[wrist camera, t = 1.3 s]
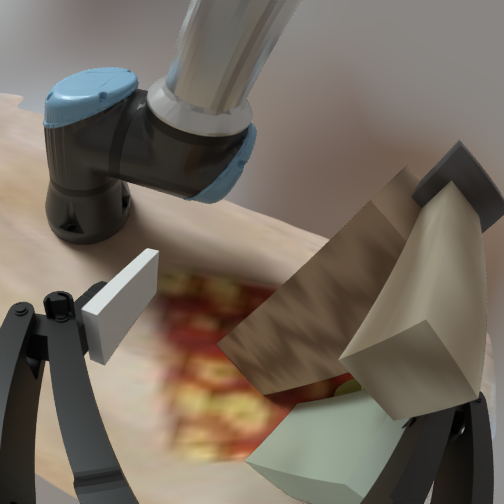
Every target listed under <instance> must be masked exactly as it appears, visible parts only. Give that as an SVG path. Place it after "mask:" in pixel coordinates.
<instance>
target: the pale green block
mask: <svg viewBox="0 0 504 504" xmlns="http://www.w3.org/2000/svg"><path fill="white" fill-rule="evenodd" d="M409 419H410V418H406V419H401V420H395V421H393V420H392V418H391V417H390V416H389V415H388V414H387V413H386V412H385V411H384V410H383V409H382V408H381V406H380V405H379V404H378V403H377V402H376V401H375V400H374V399H373V398H372V397H371V395H370V394H369V393H368V392H367V391H366V390H361V391H357V392H353V393H349V394H345V395H340V396H336V397H331V398H326V399H321V400H316V401H310V402H304V403H298V404H297V405H296V406H295V407H294V408H293V409H292V410H291V412H290V413H289V414H288V415H287V416H286V417H285V419H284V420H283V421H282V422H281V423H280V424H279V425H278V426H277V428H276V429H275V430H274V431H273V432H272V433H271V434H270V435H269V436H268V437H267V438H266V439H265V440H264V442H263V443H262V444H261V445H260V446H259V447H258V448H257V449H256V450H255V451H254V452H253V453H252V454H251V455H250V456H249V457H248V458H247V459H246V460H245V462H247V463H248V464H249V465H250V466H251V467H253V468H254V469H255V470H256V471H257V472H259V473H260V474H261V475H262V476H264V477H265V478H266V479H268V480H269V481H270V482H271V483H273V484H274V485H275V486H277V487H278V488H279V489H281V490H282V491H283V492H285V493H286V494H288V495H289V496H290V497H293V498H296V499H299V500H302V501H305V502H308V503H311V504H360V503H361V502H362V500H363V499H364V497H365V496H366V495H367V493H368V492H369V490H370V489H371V487H372V486H373V484H374V483H375V481H376V480H377V478H378V476H379V475H380V473H381V472H382V470H383V468H384V467H385V465H386V463H387V462H388V460H389V458H390V456H391V455H392V453H393V451H394V449H395V447H396V445H397V444H398V442H399V440H400V438H401V436H402V434H403V432H404V430H405V428H406V427H404V428H403V429H402V427H403V425H404V424H405V423H406V422H407V421H408V420H409Z"/></svg>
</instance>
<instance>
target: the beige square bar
mask: <svg viewBox="0 0 504 504" xmlns="http://www.w3.org/2000/svg"><path fill="white" fill-rule="evenodd" d="M411 197H412V198H413V199H414V200H415V201H416V202H417V204H418V205H419V206H420V207H421V208H422V209H421V211H420V214H419V216H418V218H417V221H416V223H415V225H414V227H413V230H412V232H411V234H410V236H409V238H408V240H407V242H406V245H405V247H404V249H403V251H402V253H401V255H400V257H399V259H398V261H397V263H396V265H395V267H394V269H393V270H392V272H391V274H390V276H389V278H388V280H387V282H386V284H385V285H384V287H383V289H382V291H381V293H380V294H379V296H378V298H377V300H376V301H375V303H374V305H373V306H372V308H371V310H370V311H369V313H368V315H367V316H366V318H365V320H364V321H363V323H362V325H361V326H360V328H359V329H358V331H357V332H356V334H355V336H354V337H353V339H352V340H351V342H350V343H349V345H348V346H347V348H346V349H345V351H344V352H343V354H342V355H341V356H340V358H339V359H338V360H339V361H340V362H341V364H342V365H343V366H344V367H345V368H346V369H347V370H348V371H349V372H350V374H351V375H352V376H353V377H354V378H355V379H356V380H357V381H358V382H359V383H360V385H361V386H362V387H363V388H364V389H365V390H366V391H367V392H368V393H369V394H370V395H371V397H372V398H373V399H374V400H375V401H376V402H377V403H378V404H379V405H380V406H381V408H382V409H383V410H384V411H385V412H386V413H387V414H388V415H389V416H390V417H391V418H392V420H393V421H395V420H401V419H406V418H411V417H415V416H420V415H424V414H428V413H432V412H436V411H440V410H444V409H447V408H451V407H454V406H457V405H461V404H464V403H467V402H470V401H473V400H476V399H478V397H479V392H480V386H481V380H482V373H483V365H484V356H485V345H486V330H487V282H486V267H485V256H484V246H483V239H482V233H483V232H485V231H486V230H487V229H488V228H489V227H490V226H492V225H493V224H494V223H495V222H496V221H497V220H499V219H500V218H501V217H502V216H503V215H504V198H503V196H502V195H501V193H500V191H499V190H498V188H497V186H496V185H495V184H494V182H493V181H492V180H491V178H490V177H489V175H488V174H487V173H486V171H485V170H484V169H483V168H482V166H481V165H480V164H479V162H478V161H477V160H476V159H475V158H474V156H473V155H472V154H471V153H470V152H469V151H468V149H467V148H466V147H465V146H464V145H463V143H462V142H461V141H460V140H459V141H458V142H457V143H456V144H455V145H454V146H453V147H452V148H451V149H450V150H449V151H448V153H447V154H446V155H445V156H444V157H443V158H442V159H441V160H440V161H439V162H438V163H437V164H436V165H435V166H434V167H433V168H432V169H431V170H430V172H429V173H428V174H427V175H426V176H425V177H424V178H423V179H422V180H421V181H420V182H419V184H418V186H417V188H416V189H415V191H414V193H413V194H412V196H411Z"/></svg>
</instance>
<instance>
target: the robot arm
mask: <svg viewBox="0 0 504 504" xmlns="http://www.w3.org/2000/svg"><path fill="white" fill-rule="evenodd" d="M301 1H302V0H192V1H191V3H190V5H189V8H188V11H187V13H186V16H185V19H184V22H183V25H182V27H181V30H180V33H179V36H178V39H177V42H176V45H175V48H174V52H173V55H172V58H171V62H170V65H169V69H168V72H167V76H165V77H163V78H161V79H159V80H157V81H156V82H155V83H153V85H152V86H151V87H150V88H149V90H148V91H145V90H141V89H137V88H138V84H139V83H138V78H137V76H136V74H135V73H133V72H131V71H130V70H127V69H123V68H115V67H106V68H96V69H90V70H86V71H82V72H79V73H76V74H74V75H71V76H69V77H67V78H65V79H63V80H61V81H60V82H59V83H57V84H56V85H55V86H54V87H53V88H52V89H51V90H50V91H49V93H48V95H47V97H46V100H45V114H44V120H43V125H44V132H45V143H46V152H47V160H48V168H49V174H50V182H49V187H48V192H47V197H46V203H45V208H46V215H47V219H48V222H49V225H50V227H51V229H52V230H53V232H54V233H55V234H56V235H57V236H59V237H60V238H62V239H63V240H65V241H68V242H70V243H75V244H93V243H97V242H100V241H103V240H105V239H107V238H109V237H111V236H112V235H114V234H115V233H116V232H118V231H119V230H120V229H121V227H122V226H123V225H124V223H125V222H126V220H127V218H128V215H129V211H130V202H131V196H130V190H129V187H128V184H127V182H129V183H133V184H136V185H140V186H143V187H146V188H150V189H153V190H156V191H160V192H163V193H166V194H170V195H173V196H176V197H179V198H183V199H184V200H188V201H191V200H194V201H198V202H202V203H207V204H212V203H216V202H218V201H220V200H222V199H223V198H224V197H225V196H226V195H227V194H228V193H229V192H230V191H231V189H232V188H233V187H234V185H235V184H236V182H237V180H238V179H239V177H240V176H241V174H242V172H243V168H244V165H245V164H246V163H247V161H248V160H249V157H250V155H251V153H252V150H253V147H254V144H255V140H256V132H257V131H256V127H255V126H254V124H252V123H251V120H252V117H253V113H252V108H251V106H250V104H249V102H248V100H247V97H248V95H249V93H250V91H251V89H252V87H253V85H254V83H255V81H256V79H257V77H258V76H259V73H260V72H261V70H262V68H263V66H264V64H265V63H266V61H267V59H268V57H269V55H270V53H271V52H272V50H273V48H274V46H275V45H276V43H277V41H278V39H279V38H280V36H281V34H282V32H283V31H284V29H285V27H286V26H287V24H288V22H289V21H290V19H291V17H292V16H293V14H294V13H295V11H296V9H297V8H298V6H299V5H300V3H301ZM158 260H159V251H157V250H153V249H149V248H147V249H145V250H144V251H143V252H142V253H141V254H140V255H139V256H137V257H136V258H135V259H134V260H133V261H132V262H131V263H130V264H128V265H127V266H126V267H125V268H124V269H123V270H122V271H121V272H120V273H119V274H117V275H116V276H115V277H114V278H113V279H112V280H111V281H110V282H109V283H106V282H103V281H101V282H99V283H96V284H94V285H93V286H91V287H90V288H89V289H88V291H86V292H85V293H84V294H83V295H81V296H80V297H79V298H78V299H77V300H76V301H75V302H74V301H73V297H72V295H71V294H69V293H67V292H64V291H56V292H52V293H50V294H48V295H47V296H46V297H45V298H44V301H43V303H44V308H45V312H46V315H42V314H36V313H35V311H34V307H33V305H32V304H30V303H28V302H19V303H16V304H14V305H13V306H11V308H10V309H9V311H8V313H7V315H6V317H5V319H4V321H3V324H2V326H1V328H0V504H36V492H35V435H36V422H37V412H38V404H39V396H40V389H41V383H42V377H43V372H44V367H45V362H46V361H49V363H50V373H51V381H52V388H53V394H54V400H55V406H56V411H57V416H58V421H59V425H60V430H61V434H62V438H63V442H64V446H65V449H66V453H67V456H68V459H69V463H70V466H71V469H72V472H73V475H74V483H73V484H74V489H75V492H76V495H77V497H78V500H79V502H80V504H139V502H138V501H137V499H136V497H135V495H134V493H133V491H132V489H131V488H130V486H129V484H128V482H127V480H126V477H125V475H124V473H123V471H122V469H121V467H120V465H119V462H118V460H117V458H116V455H115V453H114V451H113V448H112V446H111V443H110V441H109V438H108V435H107V433H106V430H105V427H104V425H103V422H102V419H101V416H100V413H99V410H98V407H97V403H96V400H95V397H94V393H93V390H92V386H91V383H90V379H89V375H88V371H87V367H86V363H85V358H84V355H85V354H86V353H87V351H89V355H90V359H91V360H93V361H95V362H98V363H100V364H102V365H106V363H107V362H108V360H109V359H110V357H111V356H112V354H113V353H114V351H115V350H116V348H117V347H118V345H119V344H120V343H121V341H122V340H123V338H124V337H125V335H126V334H127V333H128V331H129V330H130V328H131V327H132V326H133V324H134V323H135V321H136V320H137V319H138V317H139V316H140V314H141V313H142V312H143V310H144V309H145V308H146V306H147V305H148V303H149V302H150V301H151V299H152V298H153V297H154V295H155V294H156V293H157V275H158ZM404 427H406V428H405V430H404V432H403V434H402V436H401V438H400V440H399V442H398V444H397V445H396V447H395V449H394V451H393V453H392V455H391V456H390V458H389V460H388V462H387V463H386V465H385V467H384V468H383V470H382V472H381V473H380V475H379V476H378V478H377V480H376V481H375V483H374V484H373V486H372V487H371V489H370V490H369V492H368V493H367V495H366V496H365V497H364V499H363V500H362V502H361V503H360V504H424V502H425V500H426V498H427V495H428V493H429V491H430V488H431V486H432V484H433V481H434V486H433V492H432V497H431V503H430V504H493V491H494V489H493V488H494V470H493V450H492V438H491V429H490V422H489V415H488V409H487V403H486V399H485V397H484V395H483V393H482V392H481V391H480V392H479V397H478V399H476V400H473V401H470V402H467V403H464V404H461V405H457V406H454V407H451V408H447V409H444V410H440V411H436V412H432V413H428V414H424V415H420V416H415V417H411V418H410V419H409V420H408V421H407V422H406V423H405V424H404V425H403V427H402V429H403V428H404ZM464 427H465V429H464V431H463V433H462V429H463V428H464Z"/></svg>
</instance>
